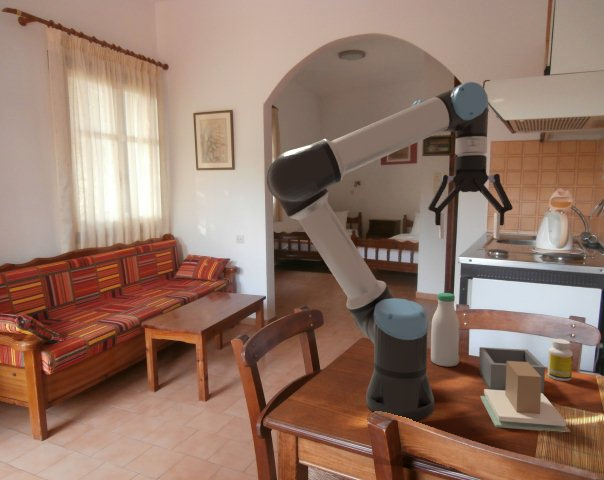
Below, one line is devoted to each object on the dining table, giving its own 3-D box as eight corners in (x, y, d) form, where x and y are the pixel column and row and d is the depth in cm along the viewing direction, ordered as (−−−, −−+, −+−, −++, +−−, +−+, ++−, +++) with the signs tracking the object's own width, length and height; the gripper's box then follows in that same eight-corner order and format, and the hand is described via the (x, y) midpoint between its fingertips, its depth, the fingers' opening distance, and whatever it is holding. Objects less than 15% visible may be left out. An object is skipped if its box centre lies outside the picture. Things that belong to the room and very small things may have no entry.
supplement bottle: (575, 382, 107) (577, 345, 106) (551, 380, 108) (553, 343, 107) (566, 373, 112) (568, 338, 111) (544, 372, 113) (545, 337, 112)
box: (490, 392, 102) (491, 364, 101) (478, 372, 114) (479, 347, 113) (543, 395, 100) (545, 367, 99) (526, 375, 111) (527, 349, 111)
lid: (498, 424, 86) (500, 378, 85) (483, 396, 99) (485, 356, 98) (565, 429, 84) (568, 383, 83) (541, 400, 96) (543, 359, 95)
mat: (495, 426, 86) (495, 424, 86) (480, 397, 99) (480, 395, 99) (569, 433, 84) (570, 430, 84) (544, 402, 96) (544, 400, 96)
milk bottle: (457, 369, 116) (459, 298, 114) (428, 364, 119) (430, 295, 117) (460, 359, 123) (461, 292, 121) (432, 355, 126) (434, 290, 124)
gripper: (421, 155, 106) (420, 239, 108) (528, 152, 101) (525, 239, 103) (418, 158, 113) (417, 236, 115) (518, 155, 108) (515, 237, 110)
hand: (468, 238), depth 109 cm, fingers open, 13 cm apart
